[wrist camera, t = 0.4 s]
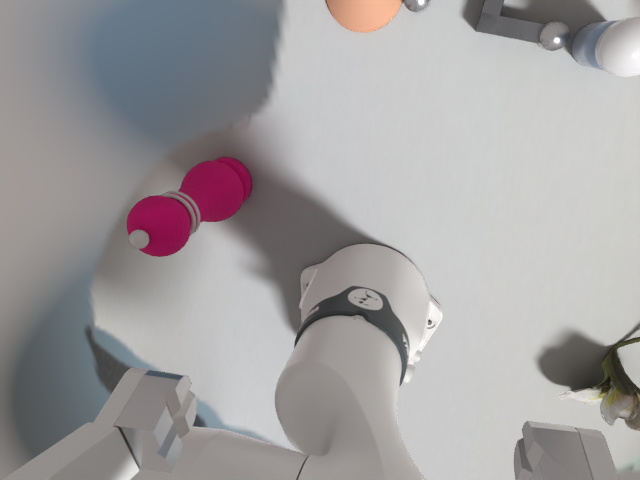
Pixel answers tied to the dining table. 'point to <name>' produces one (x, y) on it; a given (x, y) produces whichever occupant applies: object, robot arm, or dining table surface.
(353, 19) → the coaster
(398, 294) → the robot arm
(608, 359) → the artificial flower
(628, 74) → the shaker
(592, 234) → the dining table surface
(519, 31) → the rail
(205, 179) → the pepper mill
